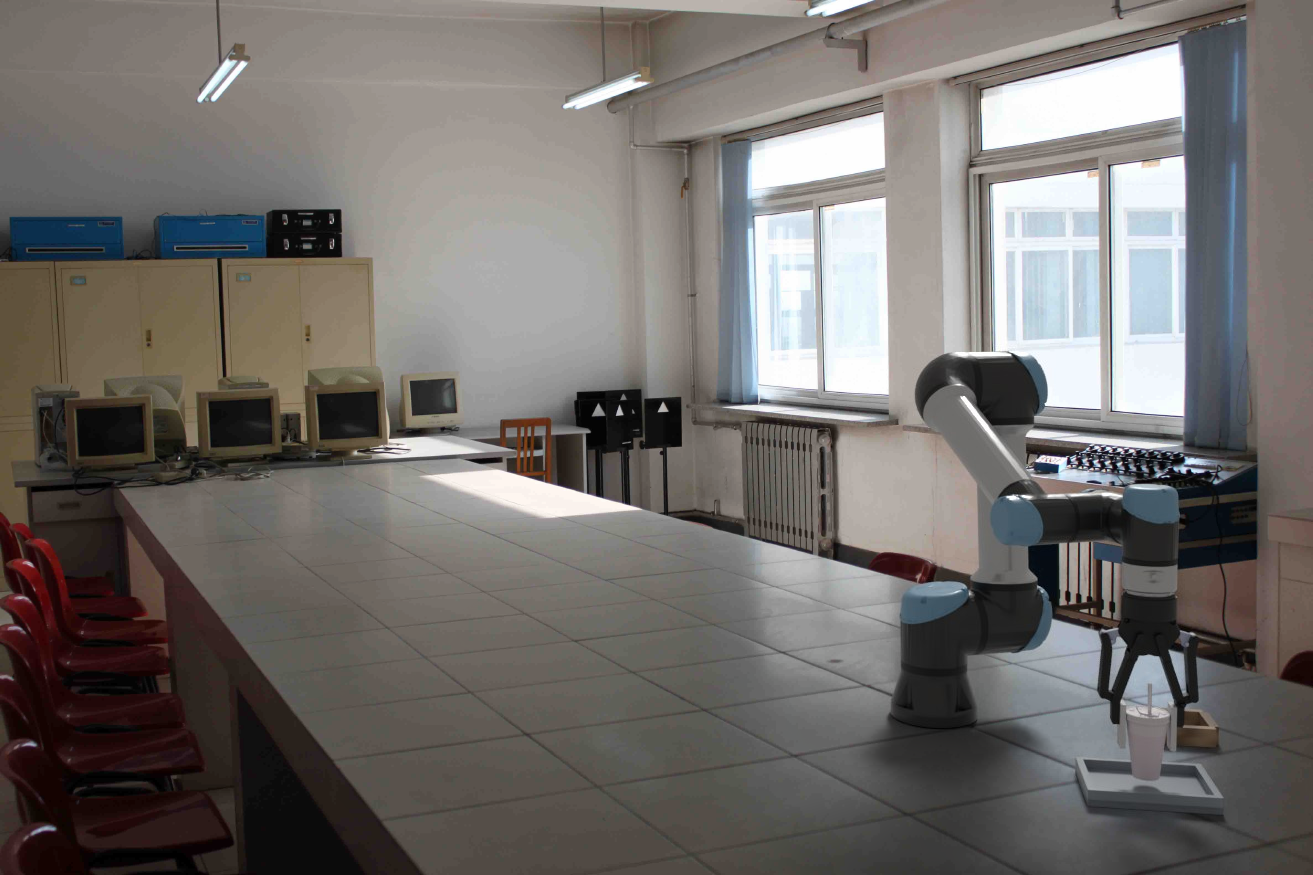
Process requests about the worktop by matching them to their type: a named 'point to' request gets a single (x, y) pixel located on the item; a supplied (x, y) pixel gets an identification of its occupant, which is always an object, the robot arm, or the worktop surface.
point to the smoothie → (1146, 738)
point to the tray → (1148, 787)
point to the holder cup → (1197, 729)
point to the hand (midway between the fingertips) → (1146, 746)
